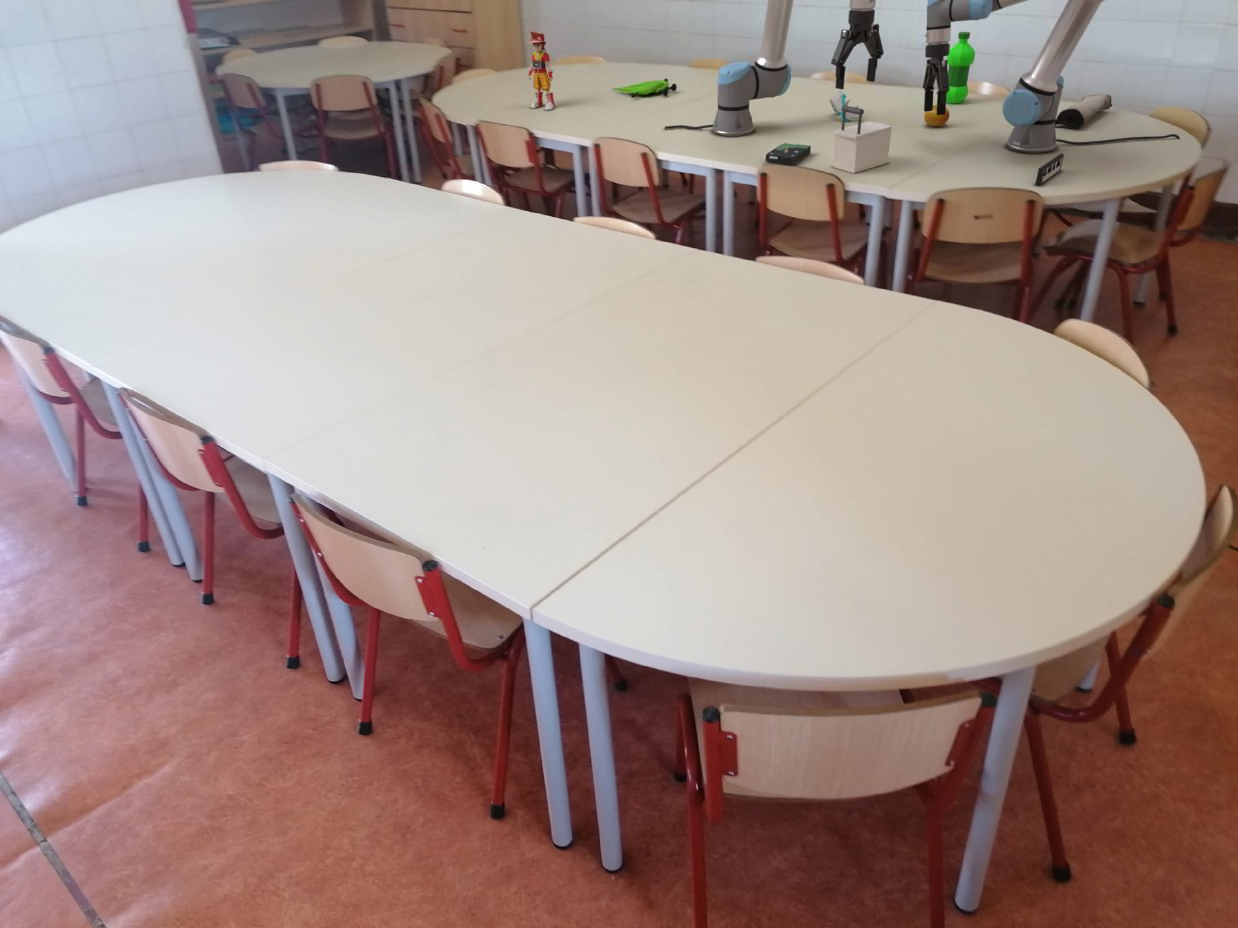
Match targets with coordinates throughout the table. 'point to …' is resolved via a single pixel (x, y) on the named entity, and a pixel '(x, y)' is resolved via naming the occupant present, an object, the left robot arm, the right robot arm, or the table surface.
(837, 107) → the anatomical model
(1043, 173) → the midi keyboard
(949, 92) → the plastic bottle
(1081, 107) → the rolled mat
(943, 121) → the fruit
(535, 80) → the toy
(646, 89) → the toy
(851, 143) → the chest
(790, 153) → the disk drive
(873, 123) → the lid
